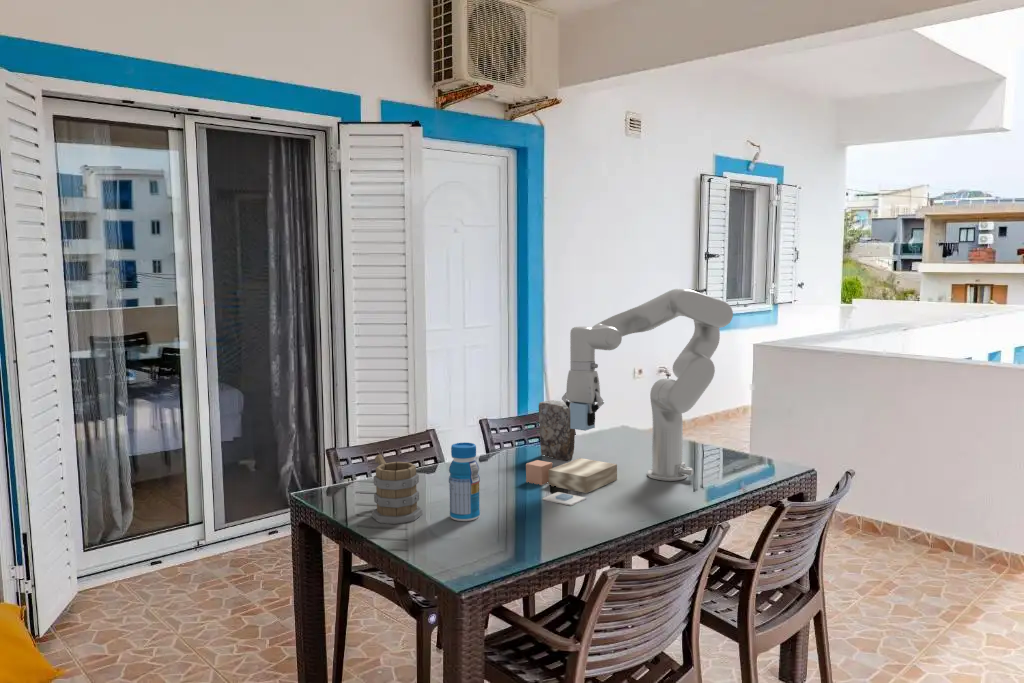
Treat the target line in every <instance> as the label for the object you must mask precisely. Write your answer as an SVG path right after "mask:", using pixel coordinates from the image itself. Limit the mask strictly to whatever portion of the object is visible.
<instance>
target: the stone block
mask: <svg viewBox="0 0 1024 683" xmlns="http://www.w3.org/2000/svg"><path fill="white" fill-rule="evenodd" d="M538 420H539V421H538V423H539V425H538V426H539V440H540V441H539V442H540V452H541V456H542V455H545V456H549V457H553V458H552V459H554V458H557V459H556V460H559V459H560V461H564V462H570V461H572V459H573V456H574V453H575V452H574V451H575V438H576V436H575V435H576V429H570V410H569V408H568V407H567V405H566V403H565V402H564V401H561V400H560V401H559V400H555V399H554V400H551V399H550V400H544V401H540V402H539V403H538ZM549 457H548V458H549Z"/></svg>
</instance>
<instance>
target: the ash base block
mask: <svg viewBox="0 0 1024 683" xmlns="http://www.w3.org/2000/svg"><path fill="white" fill-rule="evenodd" d="M548 476H549V483H548V486H549V485H551V486H550V487H554V486H556V487H555V488H560V489H563V490H564V489H565V490H569V491H573V492H574V491H575V492H580V493H584V494H588V493H590V492H592V491H596V490H597V489H599V488H601V487H603V486H606V485H608V484H611V483H613V482H615V481H617V480H618V464H617V463H611V462H606V461H599V460H594V459H588V458H581V457H579V458H577V459H574V460H570V461H567V462H566V463H563V464H560V465H557V466H555V467H552V469H549V470H548Z"/></svg>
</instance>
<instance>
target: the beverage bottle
mask: <svg viewBox="0 0 1024 683" xmlns="http://www.w3.org/2000/svg"><path fill="white" fill-rule="evenodd" d="M450 455H451V458H452V461H451V463H450V465H449V468H448V473H449V474H450V475H449V476H448V483H449V484H448V486H449V488H448V489H449V518H451V519H452V520H453V521H457V522H470V521H474V520H477V519H479V518H480V516H481V515H480V514H481V512H480V511H481V510H480V481H481V477H480V474H479V472H480V467H479V464H478V462H477V460H476V459H475V458H476V457H477V445H476V444H475V443H472V442H457V443H453V444H451V447H450Z"/></svg>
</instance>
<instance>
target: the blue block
mask: <svg viewBox="0 0 1024 683" xmlns="http://www.w3.org/2000/svg"><path fill="white" fill-rule="evenodd" d="M591 405H592V404H591ZM588 413H589V410H588V404H585V403H577V402H575V403H570V429H575V430H578V431H585V432H586V431H588V430H591V429H595V428H596V423H595V424H594V425H591V426H588Z"/></svg>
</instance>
